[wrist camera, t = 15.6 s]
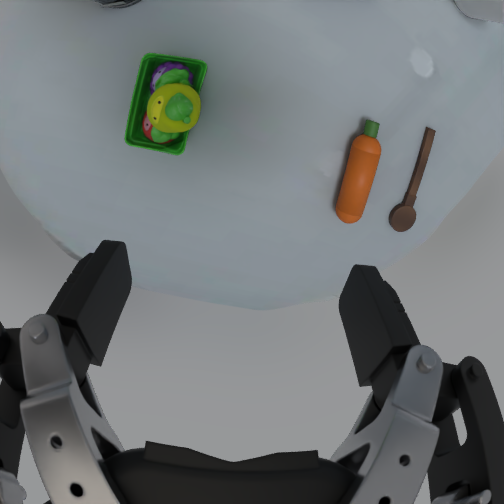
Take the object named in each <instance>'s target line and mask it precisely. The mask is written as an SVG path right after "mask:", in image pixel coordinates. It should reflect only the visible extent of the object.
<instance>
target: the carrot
mask: <svg viewBox="0 0 504 504" xmlns="http://www.w3.org/2000/svg"><path fill="white" fill-rule="evenodd" d="M379 125H380V124H379V123H377V122H374V121H371V120H366V123H365V128H364V132H363V134H362V135H359V136H358V137H356V138H355V139H354V141H353V143H352V146H351V150H350V155H349V159H348V163H347V167H346V170H345V174H344V178H343V182H342V186H341V189H340V193H339V197H338V200H337V204H336V214H337V216H338V218H339V219H340V220H341V221H343V222H345V223H355V222H357V221H358V220H359V219H360V218H361V216H362V214H363V211H364V208H365V205H366V202H367V199H368V196H369V193H370V189H371V186H372V183H373V180H374V176H375V173H376V169H377V166H378V162H379V159H380V155H381V146H380V143H379V142H378V140H377V139H376V137H377V133H378V129H379Z"/></svg>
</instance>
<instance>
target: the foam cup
mask: <svg viewBox="0 0 504 504" xmlns="http://www.w3.org/2000/svg"><path fill="white" fill-rule="evenodd" d="M454 1H455V4H456V5H457V7H458V8H459V9H460V11H461V12H462V13H464V14H465V15H466V16H467V17H470V18H474V19H479V20H486V21H491V22H497V23H501V24H504V0H454Z"/></svg>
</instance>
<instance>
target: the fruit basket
mask: <svg viewBox="0 0 504 504" xmlns="http://www.w3.org/2000/svg"><path fill="white" fill-rule="evenodd" d="M206 71H207V64H206V63H205V62H204V61H202V60H197V59H191V58H185V57H178V56H171V55H164V54H156V53H148V54H146V55H144V56H143V58H142V60H141V63H140V67H139V71H138V75H137V80H136V84H135V88H134V92H133V96H132V101H131V105H130V111H129V116H128V121H127V127H126V131H125V142H126V143H127V144H128V145H129V146H134V147H140V148H145V149H150V150H155V151H159V152H164V153H168V154H172V155H180V154H182V153H183V152H184V150H185V146H186V141H187V137H188V133H189V129H191V128H192V127H193V126H194V125H195V124H196V123H197V121H198V118H199V114H200V110H201V100H200V97H199V93H200V90H201V87H202V83H203V80H204V77H205V74H206Z"/></svg>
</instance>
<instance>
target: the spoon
mask: <svg viewBox="0 0 504 504" xmlns="http://www.w3.org/2000/svg"><path fill="white" fill-rule="evenodd" d="M435 132H436V131H435V130H433V129H430V128H428V127H426V130H425V134H424V138H423V142H422V145H421V149H420V152H419V156H418V159H417V163H416V166H415V169H414V172H413V175H412V178H411V181H410V184H409V187H408V190H407V192H406V193H405V196H404V199H403V202H402V203H401V204H399V205H397V206H395V207H394V208H393V210H392V211H391V213H390V216H389V222H390V225H391V226H392V227H393V229H394V230H396V231H398V232H403V231H406V230H408V229H410V228H411V227H412V226H413V224H414V222H415V220H416V212H415V210H414V208H413V205H414V203H415V200H416V193H417V191H418V188H419V185H420V182H421V179H422V176H423V173H424V170H425V167H426V163H427V160H428V157H429V153H430V150H431V147H432V143H433V139H434V136H435Z"/></svg>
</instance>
